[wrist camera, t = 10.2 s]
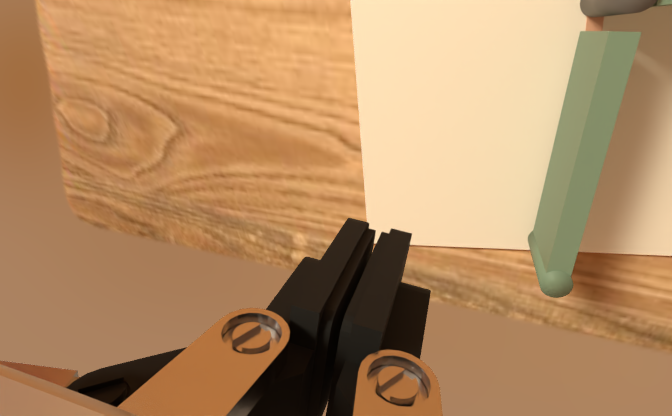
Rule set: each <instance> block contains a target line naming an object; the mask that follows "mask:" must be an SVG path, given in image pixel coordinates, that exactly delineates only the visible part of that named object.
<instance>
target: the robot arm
mask: <svg viewBox="0 0 672 416" xmlns="http://www.w3.org/2000/svg"><path fill="white" fill-rule="evenodd" d="M375 234H376V230H373V229H369V223H368V222H364V221H360V220H356V219H352V218H348V219H347V221H346V222H345V224H344V225H343V227H342V228H341V230H340V231H339V233H338V234H337V236H336V237H335V239H334V240H333V242H332V243H331V245H330V246H329V248H328V249H327V251H326V253H325V254H324V256H323V257H322V259H321V260H318V259H314V258H310V257H305V258H304V259H303V260H302V261H301V263H300V264H299V265H298V267H297V268H296V269H295V271H294V272H293V273H292V275H291V276H290V278H289V279H288V280H287V282H286V283H285V284H284V286H283V287H282V288H281V290H280V291H279V293H278V294H277V295H276V296H275V298H274V300H273V301H272V302H271V303H270V305H269V306H268V308H267V309H266V310H265V309H259V308H246V309H239V310H237V311H234V312H231V313H229V314H227V315H226V316H224V317H223V318H221V319H220V320H219V321H218V322H216V323H215V324H214V325H213V326H212V327H210V328H209V329H208V330H207V331H206V332H205V333H203V334H202V335H201V336H200V337H199V338H198V339H196V340H195V341H194V342H193V343H192V344H190V345H189V346H188V347H186V348H183V349H178V350H174V351H170V352H166V353H162V354H158V355H154V356H150V357H146V358H142V359H138V360H134V361H130V362H126V363H122V364H117V365H113V366H109V367H105V368H101V369H99V370H96V371H93V372H90V373H87V374H86V375H84V376H82V377H78V371H77V370H69V369H62V368H53V367H46V366H38V365H31V364H23V363H16V362H8V361H0V416H322V415H323V412H324V410H325V407H326V405H327V402H328V406H327V412H326V416H443V414H442V404H441V395H440V387H439V383H438V380H437V377H436V376H435V375H434V373H433V371H432V370H431V368H430V367H429V366H427V365H426V364H425V363H424V362H423V361H422V360H420V355H421V349H422V342H423V335H424V330H425V324H426V317H427V311H428V305H429V299H430V292H431V291H430V290H428V289H424V288H421V287H417V286H413V285H410V284H406V283H402V282H401V280H402V276H403V272H404V267H405V263H406V259H407V254H408V250H409V246H410V241H411V237H412V233H408V232H404V231H400V230H396V229H392V228H391V230H390V232H389V233H385V232H381V234H380V237H379V239H378V241H377V243H376V246H375V248H374V250H373V245H374V239H375ZM372 250H373V252H372ZM328 399H329V400H328Z"/></svg>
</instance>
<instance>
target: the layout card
mask: <svg viewBox="0 0 672 416" xmlns="http://www.w3.org/2000/svg"><path fill="white" fill-rule="evenodd" d="M350 1H351V15H352V28H353V41H354V55H355V68H356V81H357V94H358V108H359V121H360V134H361V148H362V161H363V174H364V188H365V201H366V214H367V222H368V223H369V229H373V230H376V234H375V239H374V243H375V244H376V243H377V241H378V239H379V237H380V234H381V232H385V233H389V232H390V230H391V228H392V229H396V230H400V231H404V232H408V233H412V237H411V241H410V245H423V246H447V247H471V248H495V249H519V250H530V248H529V244H528V235H529V234H530V232H532V231H533V229H534V225H535V221H536V216H537V212H538V208H539V204H540V199H541V195H542V191H543V187H544V182H545V178H546V174H547V170H548V166H549V161H550V157H551V153H552V149H553V144H554V140H555V136H556V132H557V127H558V123H559V119H560V115H561V111H562V106H563V102H564V98H565V94H566V89H567V85H568V81H569V77H570V72H571V68H572V64H573V60H574V55H575V51H576V47H577V43H578V39H579V34H580V31H620V32H641V36H640V39H639V43H638V46H637V50H636V53H635V57H634V60H633V64H632V67H631V70H630V74H629V77H628V81H627V84H626V88H625V91H624V95H623V98H622V102H621V105H620V109H619V112H618V115H617V119H616V122H615V126H614V129H613V133H612V136H611V140H610V143H609V147H608V150H607V154H606V157H605V160H604V164H603V167H602V171H601V174H600V178H599V181H598V185H597V188H596V192H595V195H594V199H593V202H592V205H591V209H590V212H589V216H588V219H587V223H586V226H585V230H584V233H583V237H582V240H581V244H580V247H579V250H578V252H591V253H615V254H639V255H663V256H672V5H669V6H659V7H650V8H648V9H647V10H645V11H642V12H639V13H631V14H622V15H612V16H603V17H589V16H586V15H584V14H583V13H582V11H581V9H580V0H350Z"/></svg>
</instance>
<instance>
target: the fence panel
mask: <svg viewBox="0 0 672 416" xmlns="http://www.w3.org/2000/svg"><path fill="white" fill-rule="evenodd" d="M640 36H641V32H620V31H580V34H579V39H578V43H577V47H576V51H575V55H574V60H573V64H572V68H571V72H570V77H569V81H568V85H567V89H566V94H565V98H564V102H563V106H562V111H561V115H560V119H559V123H558V127H557V132H556V136H555V140H554V144H553V149H552V153H551V157H550V161H549V166H548V170H547V174H546V178H545V182H544V187H543V191H542V195H541V199H540V204H539V208H538V212H537V216H536V221H535V225H534V229H533V231H532V232H530V234H529V235H528V244H529V248H530V251H531V255H532V259H533V262H534V266H535V270H536V273H537V277H538V281H539V284H540V288H541V290H542V292H543V293H544V294H546V295H548V296H550V297H555V298H558V297H563V296H566V295H567V294H569V293H570V292H571V290H572V288H573V281H572V278H571V275H572V271H573V268H574V264H575V261H576V257H577V254H578V250H579V247H580V244H581V240H582V237H583V233H584V230H585V226H586V223H587V219H588V216H589V212H590V209H591V205H592V202H593V199H594V195H595V192H596V188H597V185H598V181H599V178H600V174H601V171H602V167H603V164H604V160H605V157H606V154H607V150H608V147H609V143H610V140H611V136H612V133H613V129H614V126H615V122H616V119H617V115H618V112H619V109H620V105H621V102H622V98H623V95H624V91H625V88H626V84H627V81H628V77H629V74H630V70H631V67H632V64H633V60H634V57H635V53H636V50H637V46H638V43H639V39H640Z"/></svg>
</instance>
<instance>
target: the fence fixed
mask: <svg viewBox="0 0 672 416" xmlns="http://www.w3.org/2000/svg"><path fill="white" fill-rule="evenodd" d="M669 5H672V0H580V9H581V11H582V13H583V14H584V15H586V16H589V17H603V16H612V15H622V14H631V13H639V12H642V11H645V10H647V9H648V8H650V7H659V6H669Z"/></svg>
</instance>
